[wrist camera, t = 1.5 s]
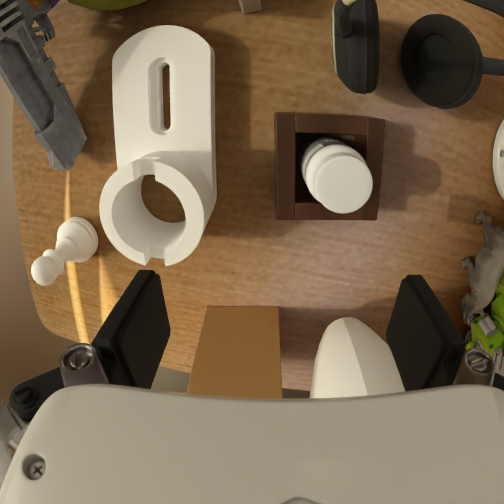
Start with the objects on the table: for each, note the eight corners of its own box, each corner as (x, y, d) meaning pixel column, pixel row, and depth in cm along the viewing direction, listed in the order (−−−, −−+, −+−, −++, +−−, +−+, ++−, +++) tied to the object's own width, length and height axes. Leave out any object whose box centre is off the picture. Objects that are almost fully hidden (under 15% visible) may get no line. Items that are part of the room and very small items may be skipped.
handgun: (108, 95, 32) (51, 182, 25) (46, -47, 13) (-60, 5, 6) (130, 89, 32) (74, 178, 24) (70, -62, 12) (-41, -19, 5)
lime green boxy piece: (517, 240, 28) (434, 288, 32) (580, 334, 16) (488, 403, 20) (505, 294, 36) (435, 334, 40) (547, 373, 24) (470, 423, 28)
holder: (371, 116, 24) (384, 119, 21) (365, 207, 28) (376, 220, 25) (274, 112, 25) (275, 113, 22) (275, 206, 29) (276, 220, 26)
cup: (303, 354, 38) (318, 517, 19) (286, 291, 33) (300, 489, 14) (382, 336, 36) (431, 488, 17) (379, 269, 32) (463, 444, 12)
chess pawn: (83, 208, 30) (34, 245, 22) (107, 246, 32) (66, 291, 24) (57, 227, 31) (11, 266, 23) (79, 262, 33) (40, 306, 25)
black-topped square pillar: (278, 306, 34) (281, 655, 4) (276, 355, 38) (276, 635, 7) (207, 306, 35) (140, 638, 4) (214, 354, 38) (173, 626, 8)
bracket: (218, 233, 30) (207, 268, 25) (136, 233, 31) (109, 264, 25) (215, 26, 21) (200, 4, 15) (123, 38, 21) (88, 27, 16)
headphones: (448, 112, 23) (616, 164, 6) (303, 90, 24) (400, 67, 6) (448, 34, 19) (608, 19, 2) (303, 3, 20) (369, -136, 2)
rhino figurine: (441, 309, 34) (461, 340, 28) (473, 209, 27) (504, 231, 22) (464, 308, 34) (484, 336, 28) (496, 212, 27) (526, 234, 22)
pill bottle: (358, 155, 26) (392, 178, 19) (328, 195, 28) (351, 231, 21) (317, 125, 25) (338, 135, 18) (287, 167, 27) (296, 193, 20)
